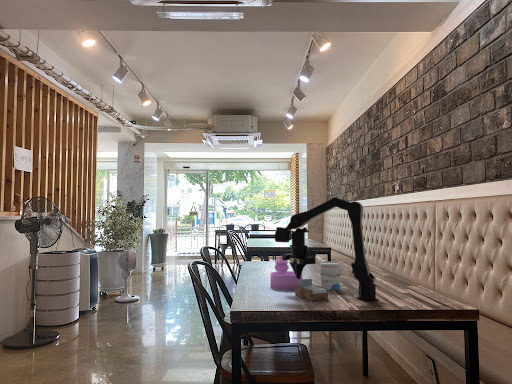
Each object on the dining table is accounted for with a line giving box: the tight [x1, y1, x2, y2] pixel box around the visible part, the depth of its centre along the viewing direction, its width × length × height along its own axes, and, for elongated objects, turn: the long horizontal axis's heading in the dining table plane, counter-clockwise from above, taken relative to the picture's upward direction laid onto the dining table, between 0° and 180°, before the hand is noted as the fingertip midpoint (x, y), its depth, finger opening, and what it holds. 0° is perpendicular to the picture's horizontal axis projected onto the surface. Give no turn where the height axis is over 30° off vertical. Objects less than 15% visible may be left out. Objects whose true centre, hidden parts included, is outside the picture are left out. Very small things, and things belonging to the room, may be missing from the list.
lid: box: [300, 278, 327, 294], centre depth 155 cm, size 10×7×4 cm, turn 25°
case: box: [294, 283, 329, 303], centre depth 155 cm, size 12×8×4 cm, turn 25°
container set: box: [269, 255, 303, 291], centre depth 186 cm, size 25×15×13 cm, turn 6°
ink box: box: [320, 262, 341, 291], centre depth 176 cm, size 8×5×12 cm, turn 84°
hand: (298, 278), depth 165 cm, fingers closed
